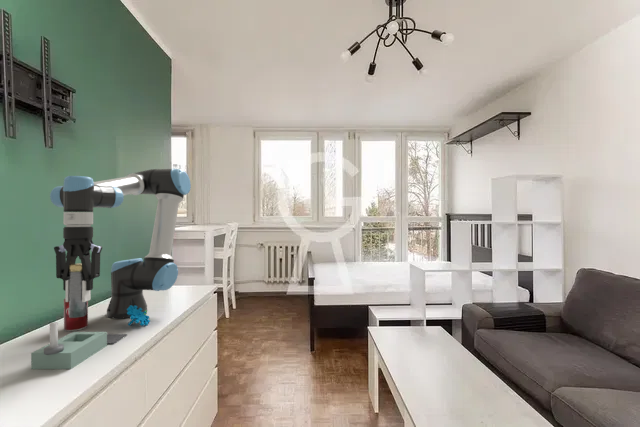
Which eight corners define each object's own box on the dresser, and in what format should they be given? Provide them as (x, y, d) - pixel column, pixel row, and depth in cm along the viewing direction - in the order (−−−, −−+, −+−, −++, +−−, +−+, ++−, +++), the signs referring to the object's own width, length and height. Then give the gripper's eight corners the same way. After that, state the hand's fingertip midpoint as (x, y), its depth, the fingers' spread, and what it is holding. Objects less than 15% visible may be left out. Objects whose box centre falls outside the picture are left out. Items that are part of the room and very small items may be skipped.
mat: (104, 335, 117) (104, 334, 117) (127, 335, 118) (127, 334, 118) (89, 344, 109) (89, 343, 109) (113, 344, 110) (113, 343, 110)
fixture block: (73, 345, 108) (73, 307, 108) (107, 345, 108) (106, 307, 108) (27, 371, 91) (27, 326, 91) (67, 371, 91) (67, 325, 91)
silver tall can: (75, 313, 105) (76, 263, 105) (89, 313, 105) (90, 263, 105) (65, 317, 101) (65, 265, 101) (80, 317, 101) (80, 265, 101)
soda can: (91, 327, 125) (91, 295, 125) (69, 333, 119) (69, 300, 119) (82, 323, 129) (82, 293, 129) (60, 329, 123) (60, 297, 123)
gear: (142, 325, 123) (124, 306, 124) (129, 337, 122) (112, 317, 123) (156, 319, 134) (140, 301, 135) (145, 330, 133) (129, 312, 134)
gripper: (40, 226, 99) (39, 304, 99) (98, 226, 99) (98, 304, 99) (59, 225, 107) (59, 297, 107) (114, 225, 107) (113, 297, 107)
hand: (78, 300), depth 103 cm, fingers closed on silver tall can, 4 cm apart
